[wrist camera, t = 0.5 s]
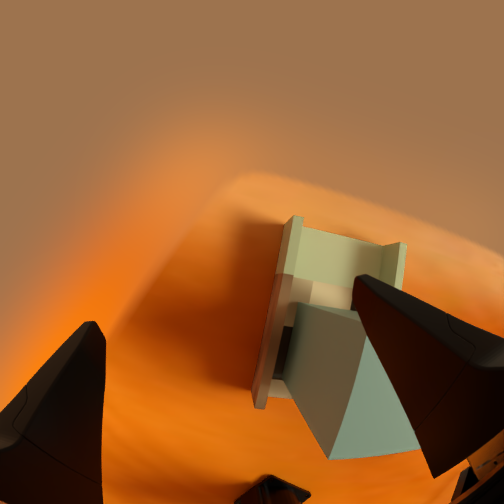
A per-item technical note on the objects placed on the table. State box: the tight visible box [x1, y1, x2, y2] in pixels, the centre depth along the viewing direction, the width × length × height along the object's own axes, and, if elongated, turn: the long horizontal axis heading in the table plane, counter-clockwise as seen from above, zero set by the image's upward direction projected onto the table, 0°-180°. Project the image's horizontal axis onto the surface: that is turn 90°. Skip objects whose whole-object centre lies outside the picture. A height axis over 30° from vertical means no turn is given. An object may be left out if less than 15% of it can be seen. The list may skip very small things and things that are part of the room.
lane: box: [251, 273, 357, 409], centre depth 23 cm, size 11×11×4 cm
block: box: [282, 302, 421, 460], centre depth 17 cm, size 7×6×13 cm
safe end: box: [275, 215, 407, 290], centre depth 24 cm, size 4×11×4 cm, turn 79°
